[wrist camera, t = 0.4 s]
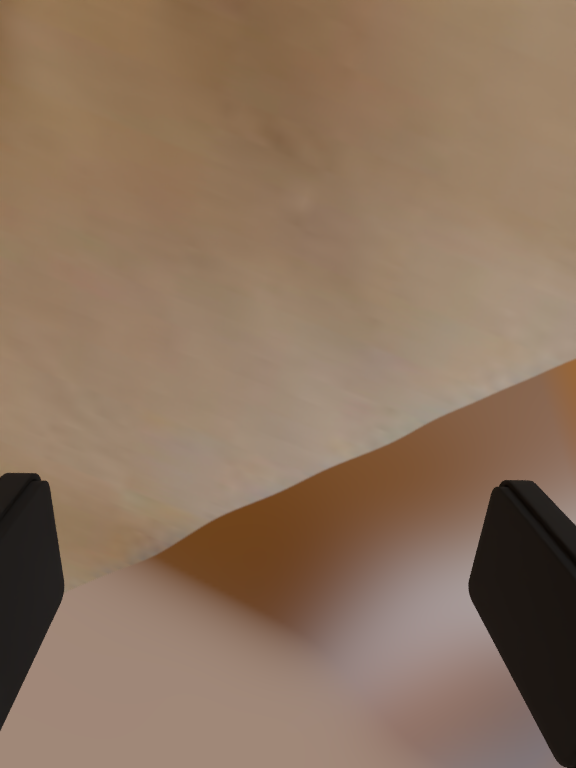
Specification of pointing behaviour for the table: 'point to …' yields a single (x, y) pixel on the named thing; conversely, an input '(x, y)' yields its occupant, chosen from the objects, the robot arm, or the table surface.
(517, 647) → the robot arm
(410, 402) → the table surface
